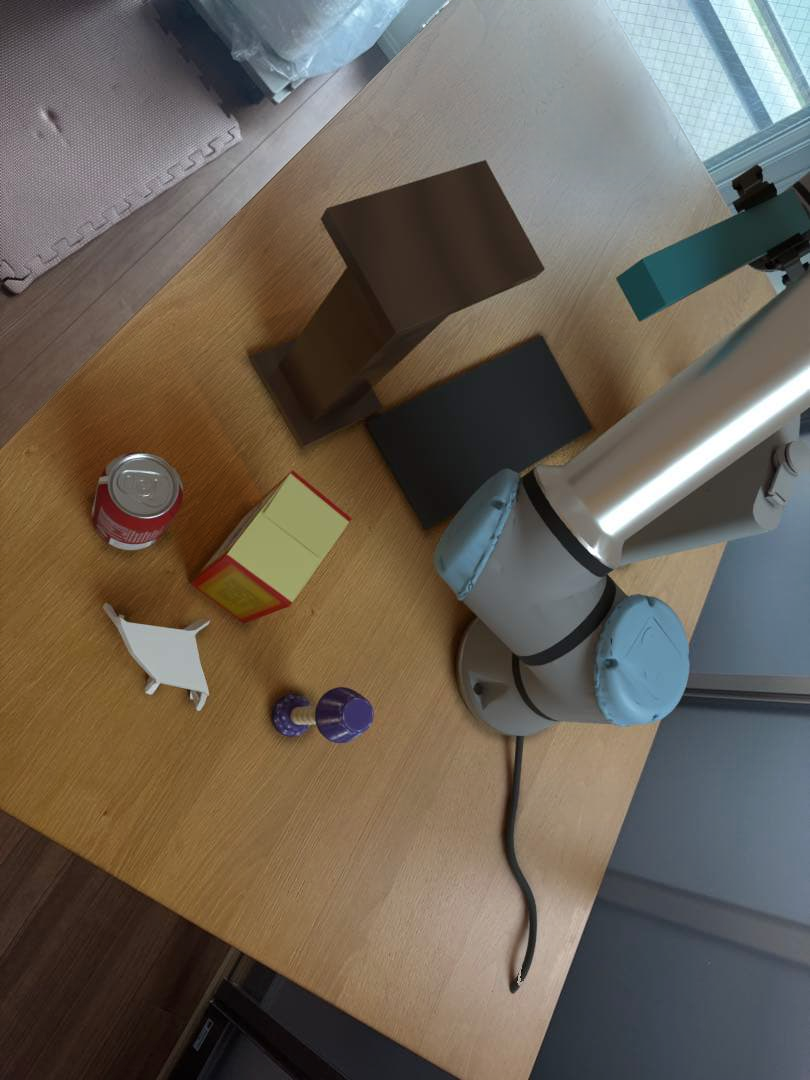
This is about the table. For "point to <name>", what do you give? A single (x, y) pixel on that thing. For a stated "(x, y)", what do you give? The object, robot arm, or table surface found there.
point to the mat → (478, 429)
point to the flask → (728, 501)
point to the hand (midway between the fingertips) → (771, 221)
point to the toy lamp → (324, 715)
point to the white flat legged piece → (165, 654)
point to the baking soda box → (272, 550)
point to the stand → (394, 291)
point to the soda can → (136, 500)
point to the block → (711, 254)
